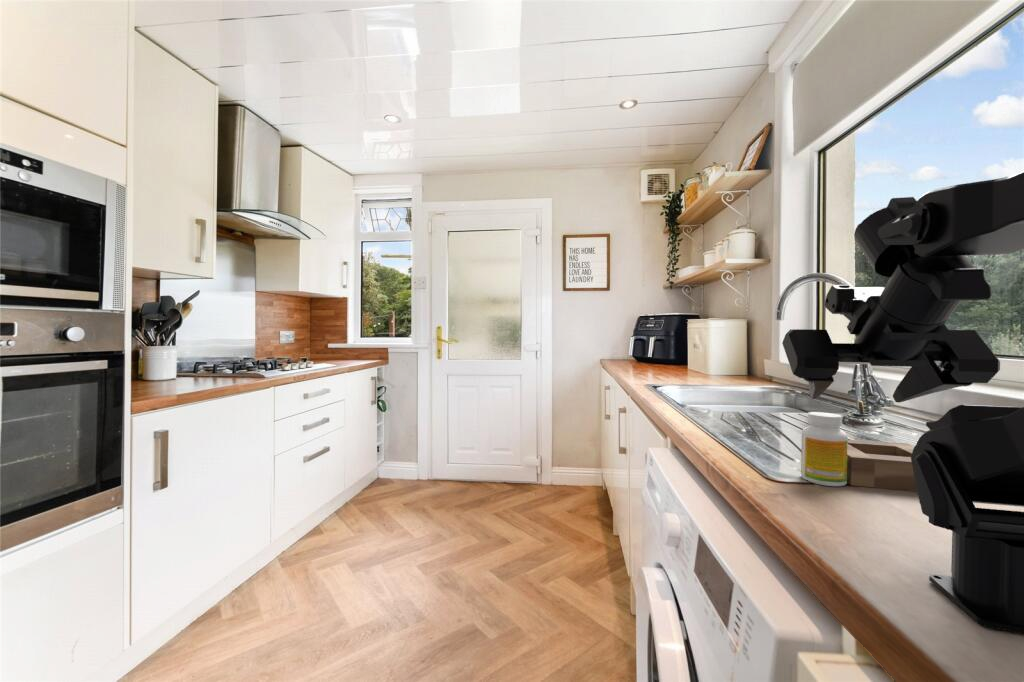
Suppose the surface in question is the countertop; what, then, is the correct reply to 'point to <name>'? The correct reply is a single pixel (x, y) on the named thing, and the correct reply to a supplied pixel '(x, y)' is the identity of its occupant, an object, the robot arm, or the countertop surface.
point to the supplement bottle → (824, 450)
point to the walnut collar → (880, 465)
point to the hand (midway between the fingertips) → (853, 397)
